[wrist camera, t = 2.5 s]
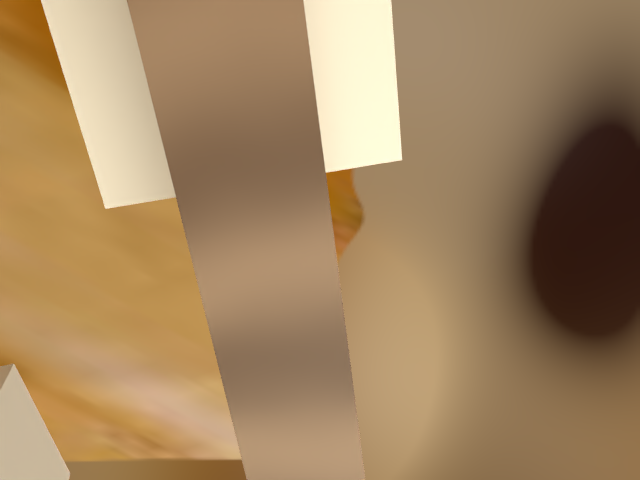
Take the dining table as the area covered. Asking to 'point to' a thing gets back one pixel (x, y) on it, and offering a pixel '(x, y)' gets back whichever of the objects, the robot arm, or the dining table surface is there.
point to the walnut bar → (257, 224)
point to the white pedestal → (138, 112)
